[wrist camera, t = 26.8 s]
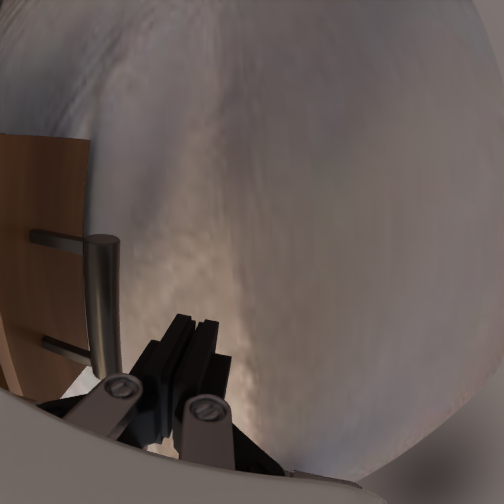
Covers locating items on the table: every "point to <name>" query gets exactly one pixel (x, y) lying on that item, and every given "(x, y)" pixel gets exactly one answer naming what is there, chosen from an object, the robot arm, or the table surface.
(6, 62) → the table surface
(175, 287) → the table surface
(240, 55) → the table surface
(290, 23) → the table surface
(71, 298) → the drawer
